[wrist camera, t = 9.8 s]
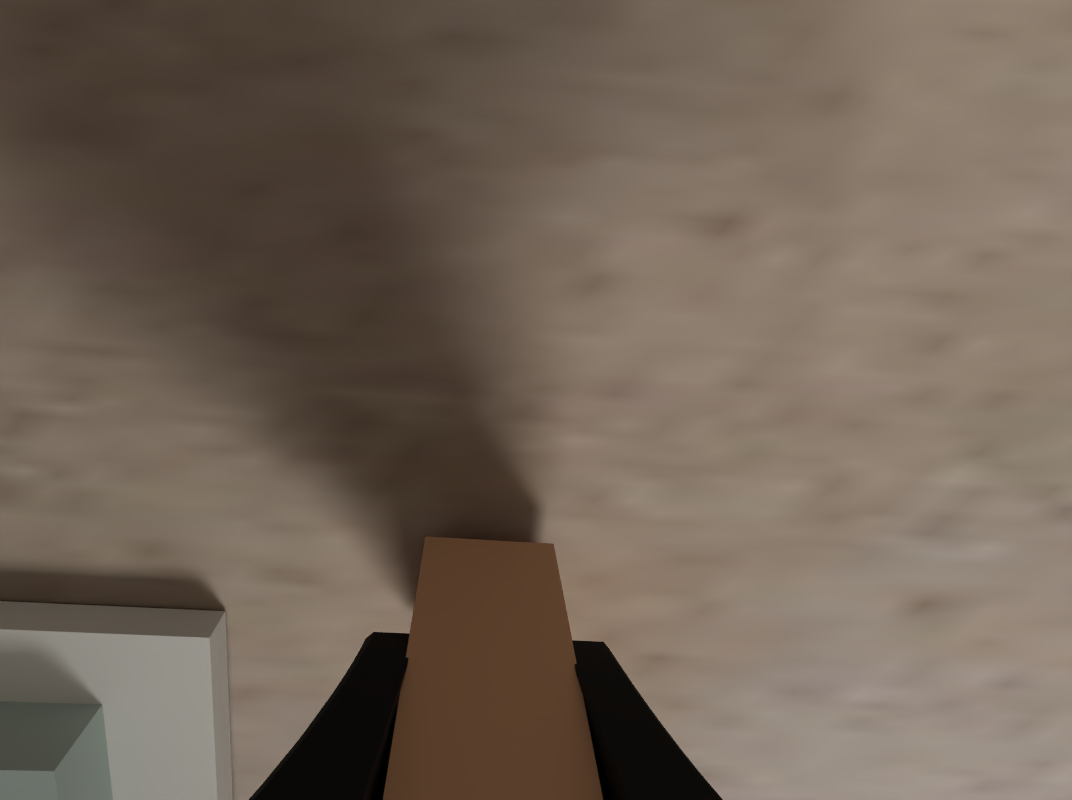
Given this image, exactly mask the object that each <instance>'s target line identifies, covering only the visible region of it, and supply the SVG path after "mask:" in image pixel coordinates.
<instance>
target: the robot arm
mask: <svg viewBox="0 0 1072 800" xmlns="http://www.w3.org/2000/svg"><path fill="white" fill-rule="evenodd" d="M409 635H410V634H406V633H383V632H373V633H372V634H371V635H370V636H368V637H367V638H366V639H365V641H364V643H363V645H362V647H361V649H360V651H359V653H358V654H357V656H356V658H355V659H354V661H353V663H352V664H351V666H350V668H349V669H348V671H347V672H346V674H345V676H344V677H343V679H342V680H341V682H340V683H339V685H338V686H337V688H336V689H335V691H334V692H333V694H332V695H331V697H330V698H329V699H328V701H327V702H326V703H325V705H324V706H323V708H322V709H321V710H320V712H319V713H318V714H317V716H316V717H315V719H314V720H313V721H312V723H311V724H310V725H309V727H308V728H307V730H306V731H305V732H304V734H303V735H302V736H301V737H300V739H299V740H298V741H297V743H296V744H295V745H294V746H293V747H292V749H291V750H290V751H289V752H288V754H287V755H286V756H285V757H284V758H283V760H282V761H281V762H280V763H279V765H278V766H277V767H276V768H275V769H274V771H273V772H272V773H271V774H270V776H269V777H268V778H267V779H266V780H265V782H264V783H263V784H262V785H261V786H260V788H259V789H258V790H257V791H256V792H255V793H254V794H253V796H252V797H251V798H250V799H249V800H383V796H384V789H385V783H386V777H387V771H388V765H389V758H390V752H391V746H392V740H393V734H394V727H395V721H396V715H397V709H398V703H399V697H400V691H401V687H402V684H403V680H404V677H405V673H406V670H407V665H408V659H409V658H406V653H407V647H408V641H409ZM572 642H573V647H574V652H575V657H576V662H577V664H574V665H575V670H576V675H577V678H578V681H579V684H580V688H581V691H582V694H583V698H584V704H585V709H586V714H587V719H588V724H589V729H590V734H591V740H592V745H593V750H594V755H595V760H596V765H597V770H598V775H599V781H600V786H601V791H602V796H603V800H722V798H721V797H720V796H719V795H718V794H717V792H716V791H715V790H714V789H713V788H712V787H711V785H710V784H709V783H708V782H707V781H706V780H705V778H704V777H703V776H702V775H701V774H700V773H699V771H698V770H697V769H696V768H695V766H694V765H693V764H692V763H691V761H690V760H689V759H688V758H687V756H686V755H685V754H684V753H683V751H682V750H681V749H680V748H679V746H678V745H677V744H676V742H675V741H674V740H673V738H672V737H671V736H670V734H669V733H668V732H667V731H666V729H665V728H664V727H663V725H662V724H661V723H660V721H659V720H658V719H657V717H656V716H655V715H654V713H653V712H652V710H651V709H650V708H649V706H648V705H647V704H646V702H645V701H644V699H643V698H642V696H641V695H640V694H639V692H638V691H637V689H636V688H635V687H634V685H633V684H632V682H631V681H630V679H629V678H628V676H627V675H626V673H625V672H624V670H623V669H622V667H621V666H620V664H619V663H618V661H617V660H616V658H615V657H614V655H613V654H612V652H611V651H610V649H609V648H608V647H607V646H606V644H605V643H604V642H594V641H572Z"/></svg>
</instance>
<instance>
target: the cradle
mask: <svg viewBox="0 0 1072 800" xmlns="http://www.w3.org/2000/svg"><path fill="white" fill-rule="evenodd" d="M0 800H233V793H232V767H231V742H230V716H229V690H228V665H227V639H226V614H225V611H209V610H186V609H164V608H142V607H119V606H97V605H75V604H52V603H30V602H8V601H0Z"/></svg>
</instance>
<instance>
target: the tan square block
mask: <svg viewBox="0 0 1072 800" xmlns="http://www.w3.org/2000/svg"><path fill="white" fill-rule="evenodd" d="M406 658H409V659H408V665H407V670H406V673H405V677H404V680H403V684H402V687H401V691H400V697H399V703H398V709H397V715H396V721H395V727H394V734H393V740H392V746H391V752H390V758H389V765H388V771H387V777H386V783H385V789H384V796H383V800H603V796H602V791H601V786H600V781H599V775H598V770H597V765H596V760H595V755H594V750H593V745H592V740H591V734H590V729H589V724H588V719H587V714H586V709H585V704H584V698H583V694H582V691H581V688H580V684H579V681H578V678H577V675H576V670H575V665H574V664H577V662H576V657H575V652H574V647H573V642H572V637H571V632H570V626H569V621H568V616H567V611H566V606H565V601H564V596H563V591H562V585H561V580H560V575H559V570H558V565H557V560H556V555H555V549H554V544H548V543H531V542H514V541H496V540H479V539H462V538H445V537H428V536H425V542H424V548H423V554H422V560H421V567H420V573H419V579H418V585H417V591H416V598H415V604H414V610H413V616H412V622H411V628H410V635H409V641H408V647H407V653H406Z"/></svg>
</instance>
